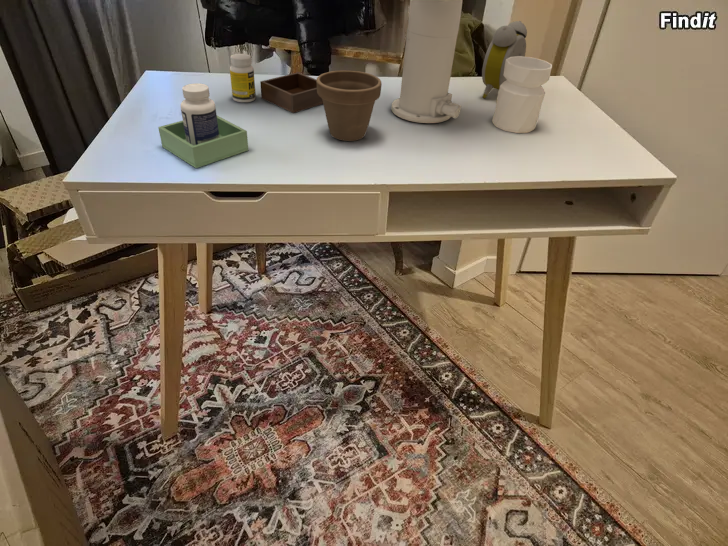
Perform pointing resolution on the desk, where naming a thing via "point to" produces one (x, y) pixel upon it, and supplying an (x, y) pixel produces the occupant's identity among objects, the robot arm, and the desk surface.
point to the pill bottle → (199, 114)
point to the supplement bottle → (242, 78)
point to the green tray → (207, 152)
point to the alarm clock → (502, 53)
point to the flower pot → (348, 101)
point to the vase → (521, 94)
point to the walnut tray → (291, 92)
